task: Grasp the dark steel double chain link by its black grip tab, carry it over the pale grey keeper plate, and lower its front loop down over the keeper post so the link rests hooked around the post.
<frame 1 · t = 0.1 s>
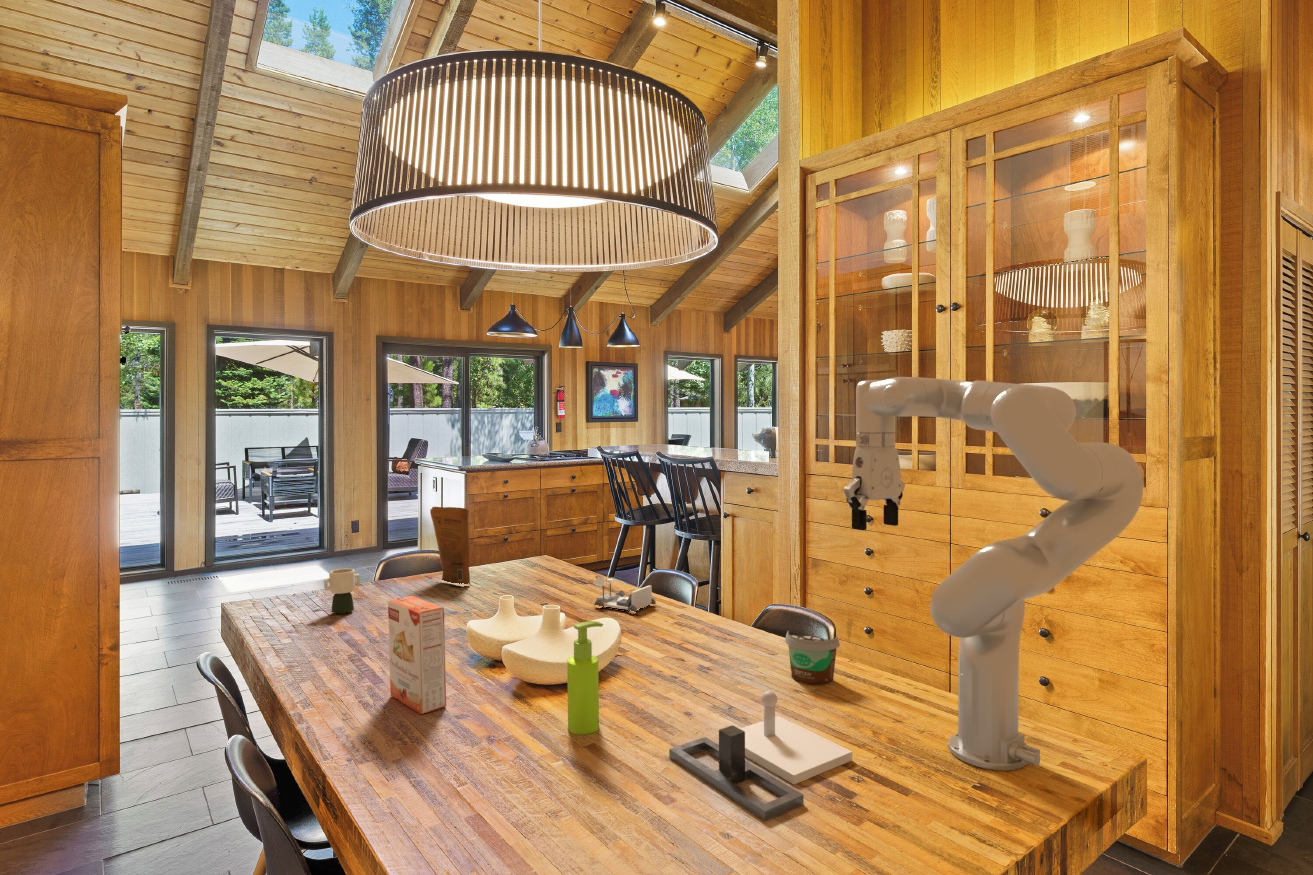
hand: (875, 527, 142), 37 cm above the table, tool pointing down, fingers open, 9 cm apart
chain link: (732, 779, 116), on the table
cracker box: (417, 703, 148), on the table
food container: (808, 682, 158), on the table
character mug: (342, 613, 217), on the table
soap dispenser: (586, 728, 136), on the table
keeper post: (785, 751, 125), on the table
grey tabletop ornament: (621, 608, 222), on the table
pancake mix bag: (453, 584, 254), on the table
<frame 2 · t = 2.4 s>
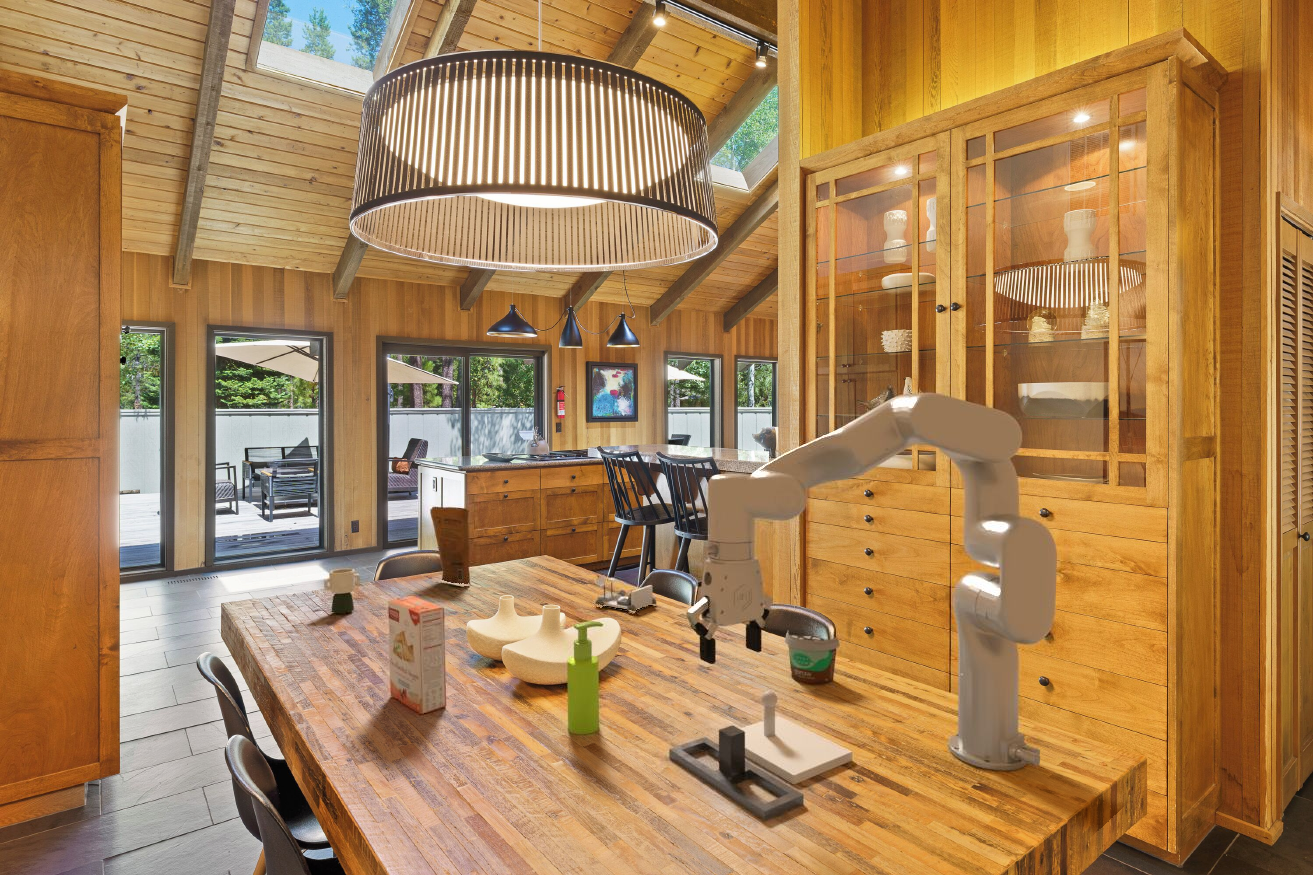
hand: (731, 655, 115), 20 cm above the table, tool pointing down, fingers open, 9 cm apart
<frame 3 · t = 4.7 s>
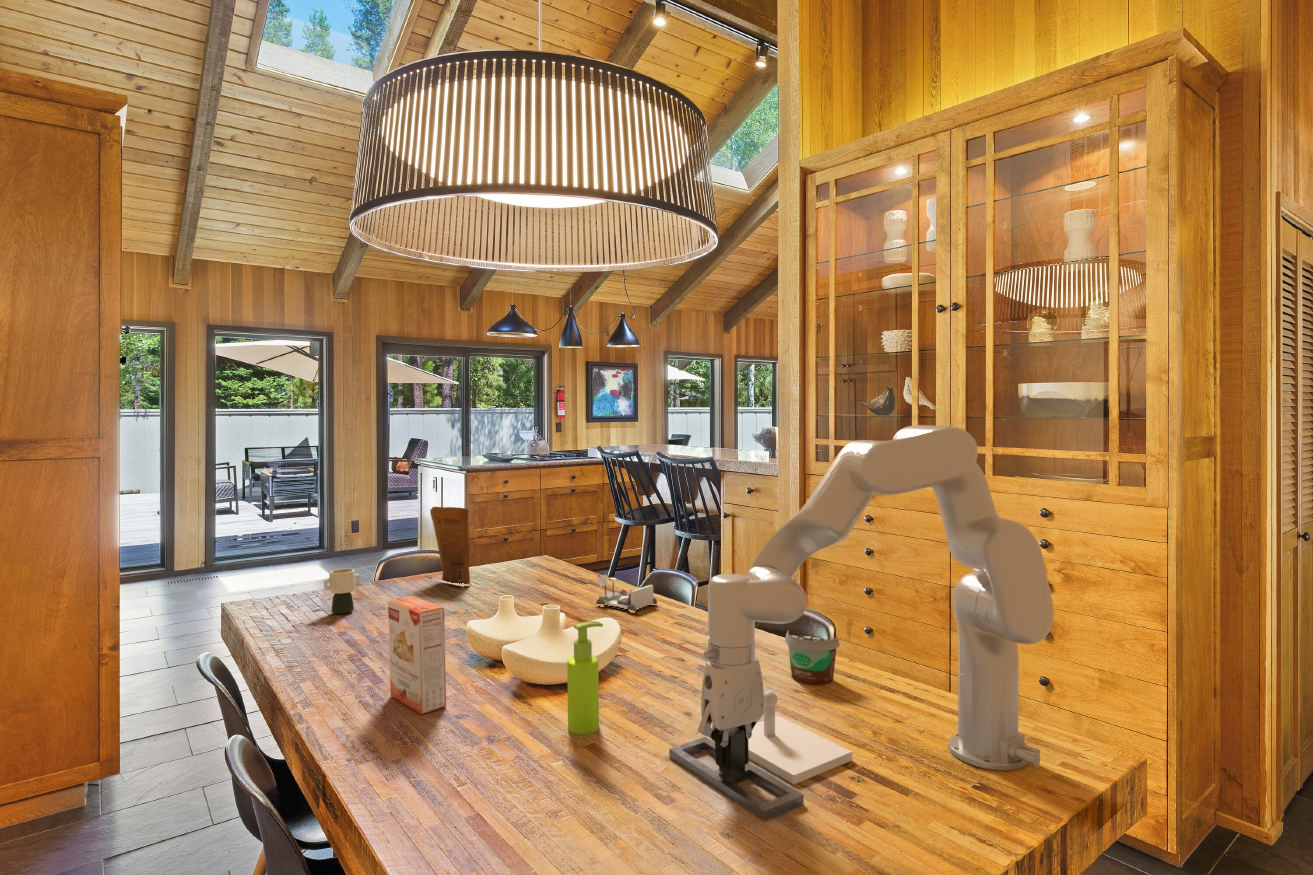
hand: (731, 762, 116), 3 cm above the table, tool pointing down, fingers closed on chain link, 3 cm apart
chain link: (732, 779, 116), on the table, touching gripper
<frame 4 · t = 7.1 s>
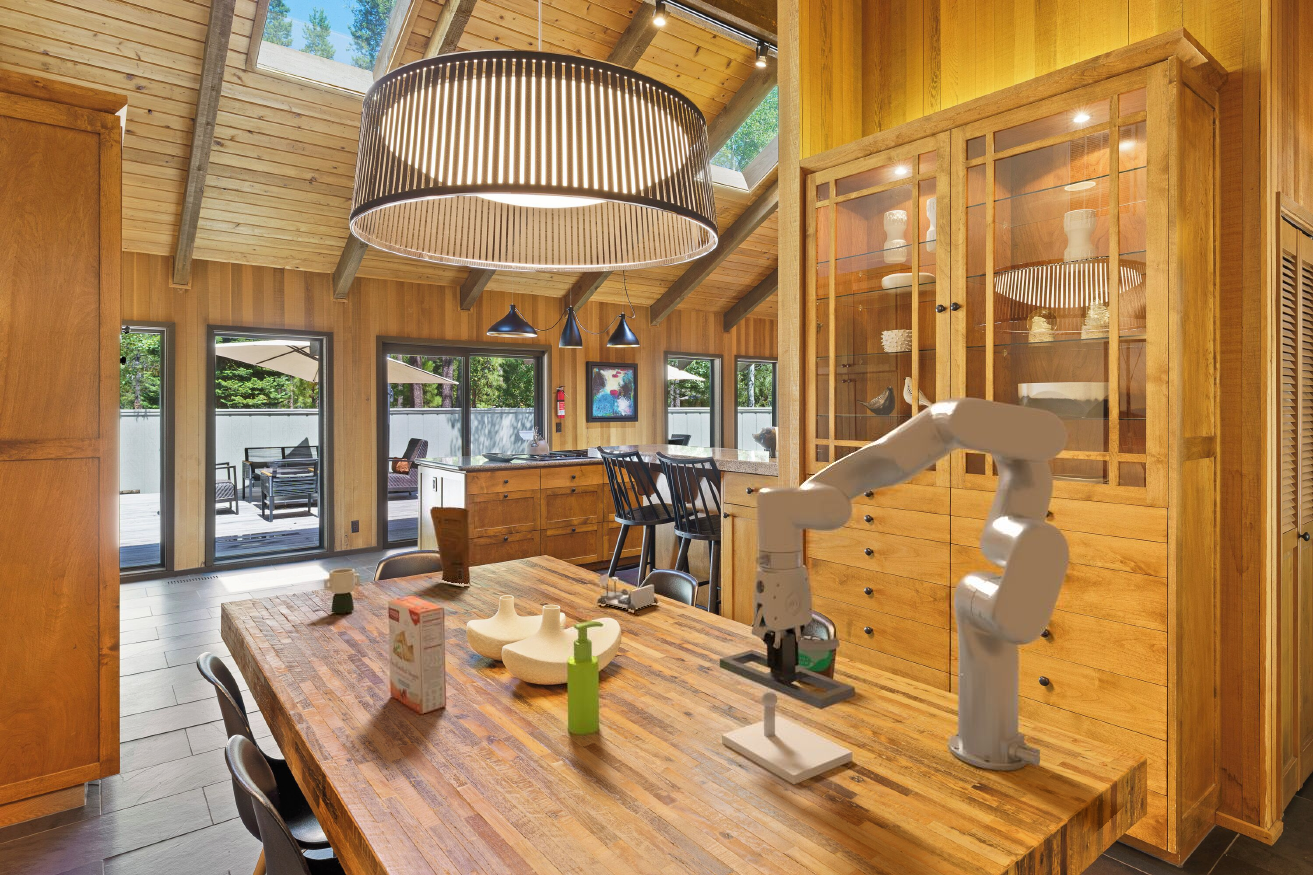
hand: (783, 665, 121), 17 cm above the table, tool pointing down, fingers closed on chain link, 3 cm apart
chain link: (783, 680, 122), point 14 cm above the table, touching gripper
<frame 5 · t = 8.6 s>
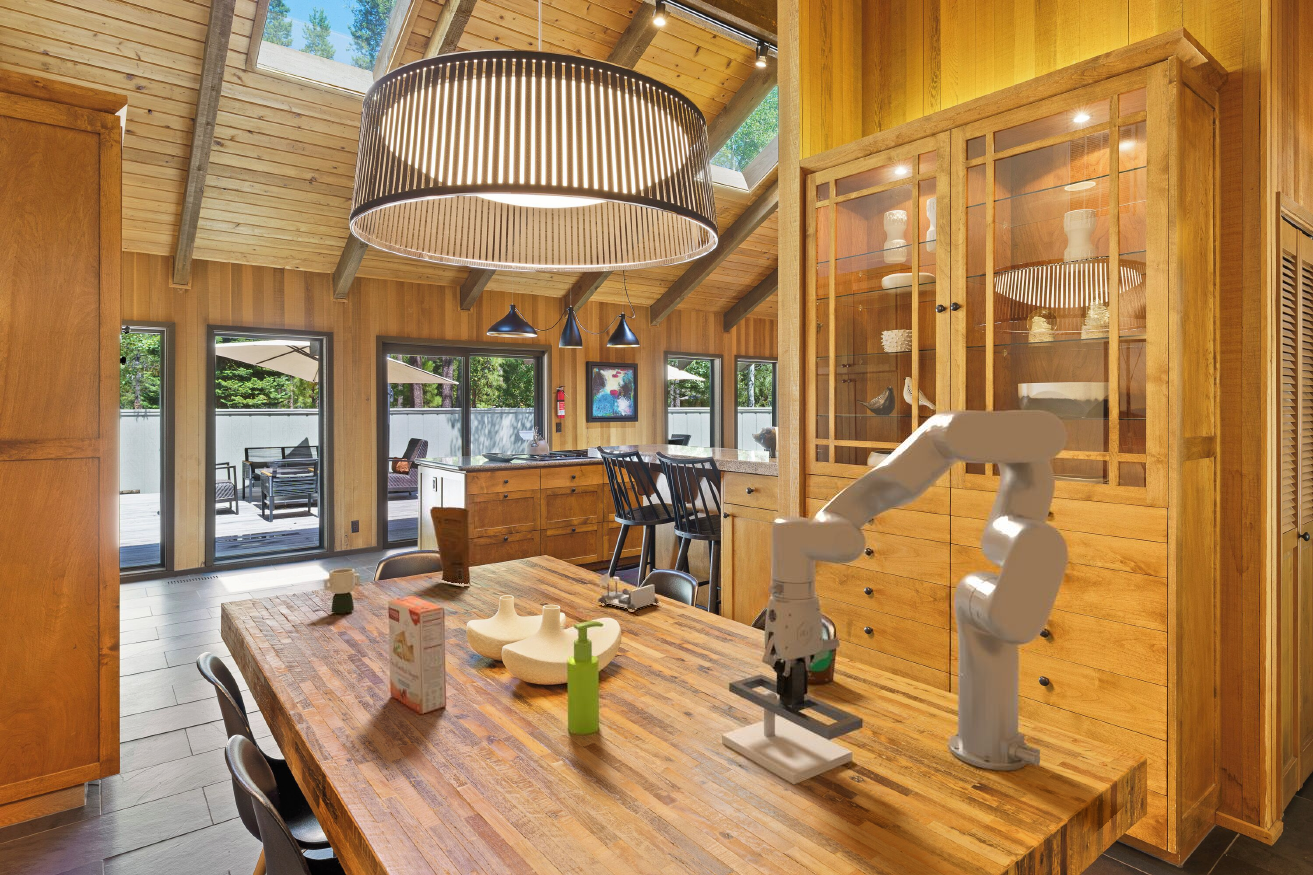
hand: (792, 693, 123), 11 cm above the table, tool pointing down, fingers closed on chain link, 3 cm apart
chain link: (791, 708, 123), point 8 cm above the table, touching gripper
when the fingers open (6 cm above the table, at t = 9.8 s): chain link drops 1 cm, resting on keeper post.
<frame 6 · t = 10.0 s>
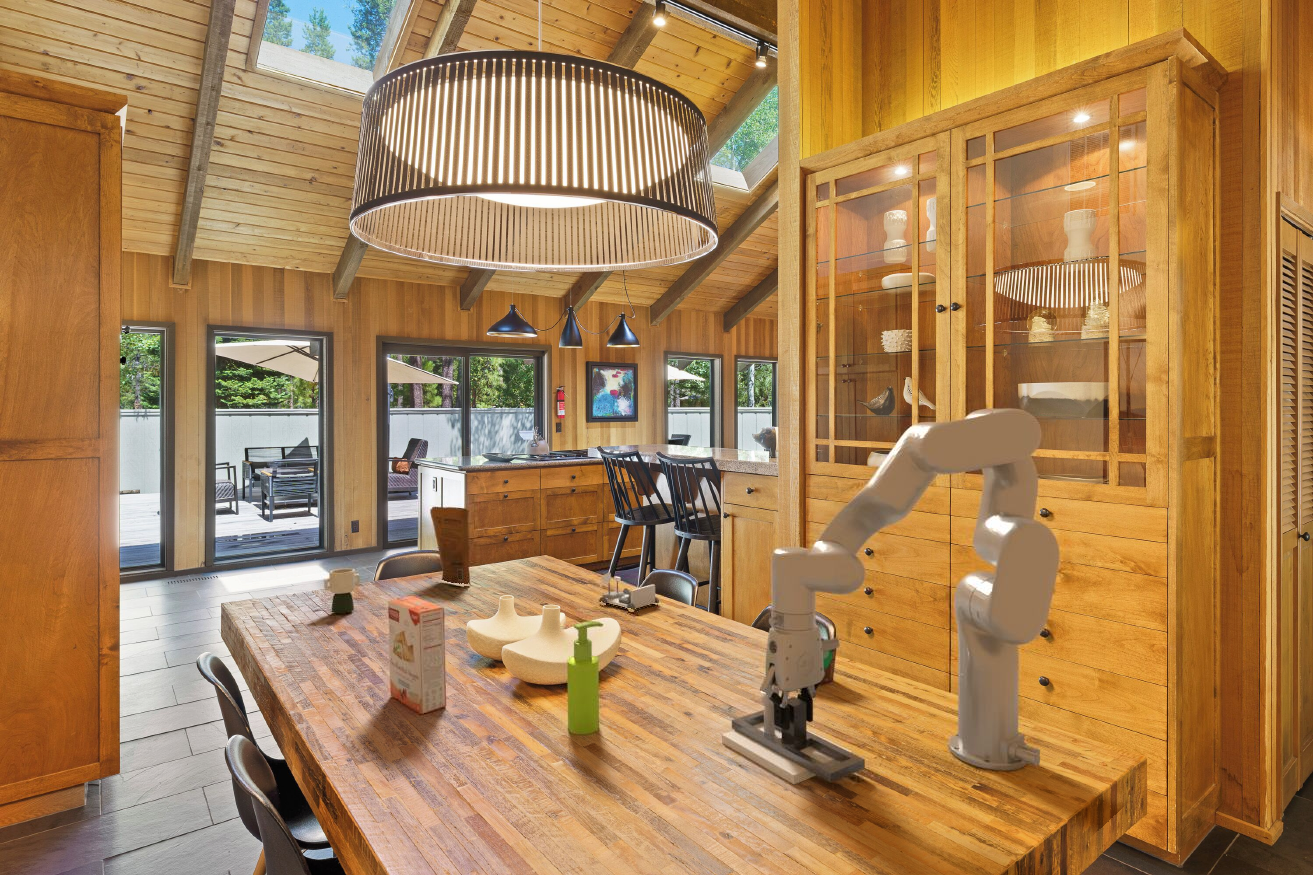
hand: (793, 722, 123), 6 cm above the table, tool pointing down, fingers open, 4 cm apart
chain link: (794, 746, 124), point 1 cm above the table, touching keeper post
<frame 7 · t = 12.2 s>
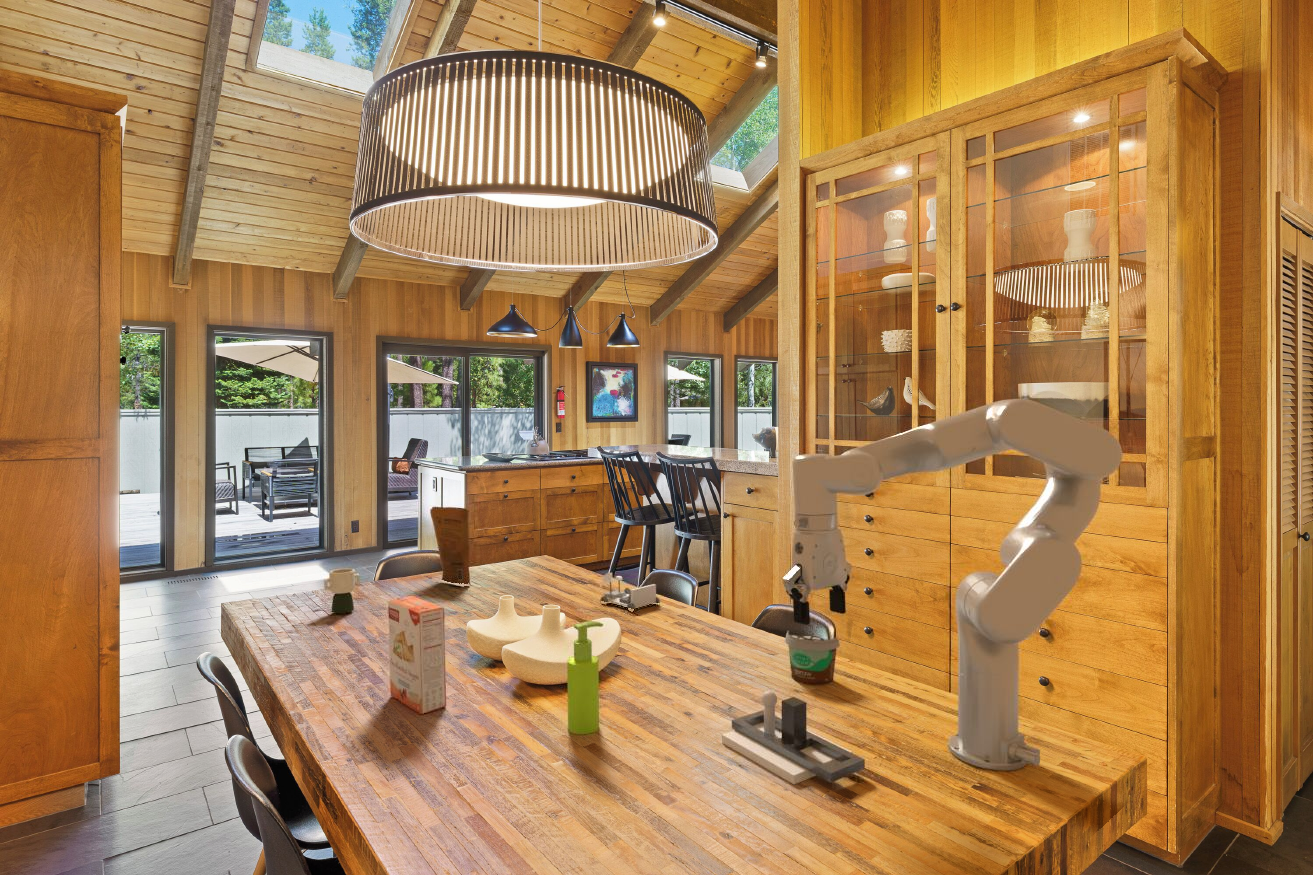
hand: (820, 617, 128), 23 cm above the table, tool pointing down, fingers open, 9 cm apart
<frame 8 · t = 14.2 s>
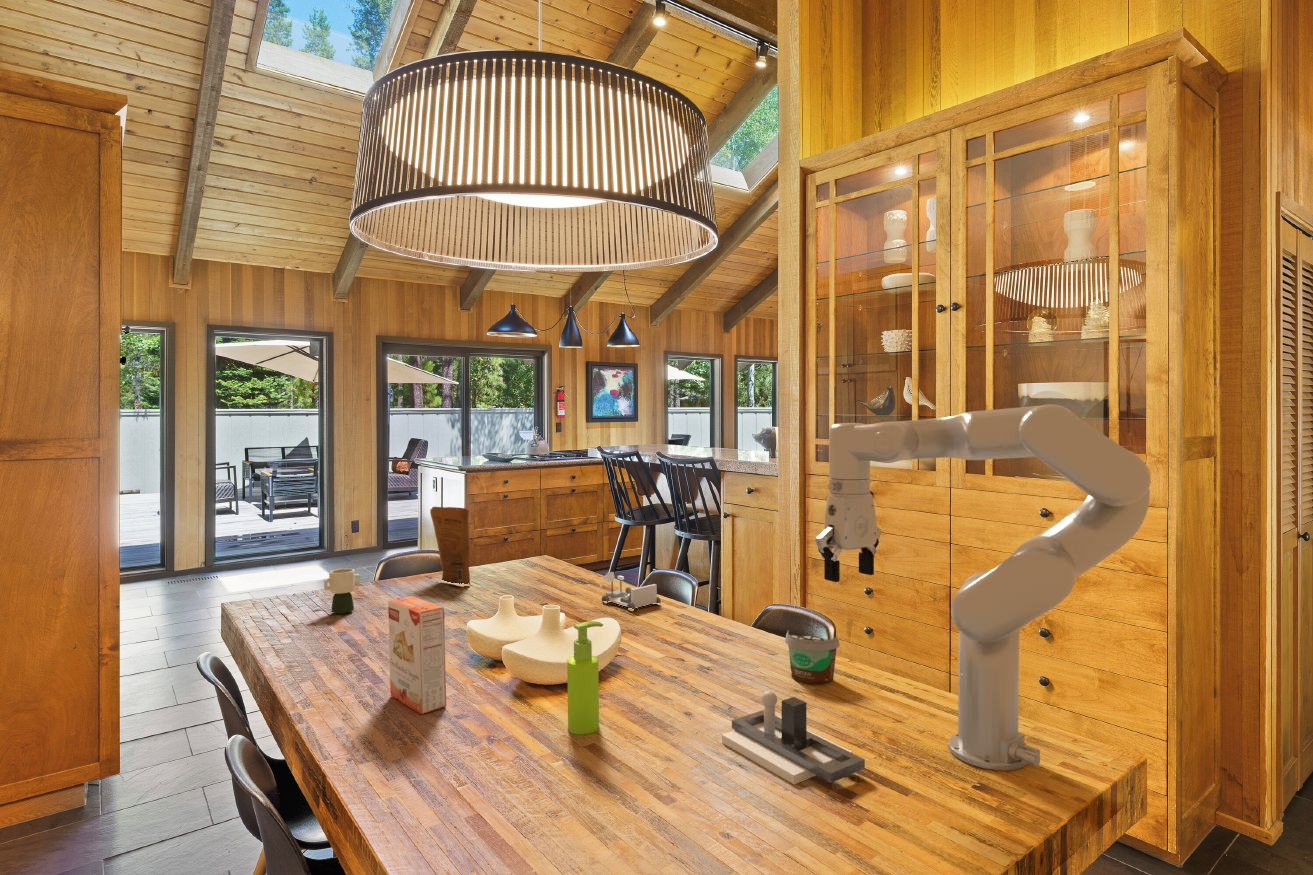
hand: (849, 577, 135), 28 cm above the table, tool pointing down, fingers open, 9 cm apart
at the end: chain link 0.1 cm from the target spot on the keeper post, point 1.5 cm above the keeper post's base; the gripper is holding nothing; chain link tilted 0° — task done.
